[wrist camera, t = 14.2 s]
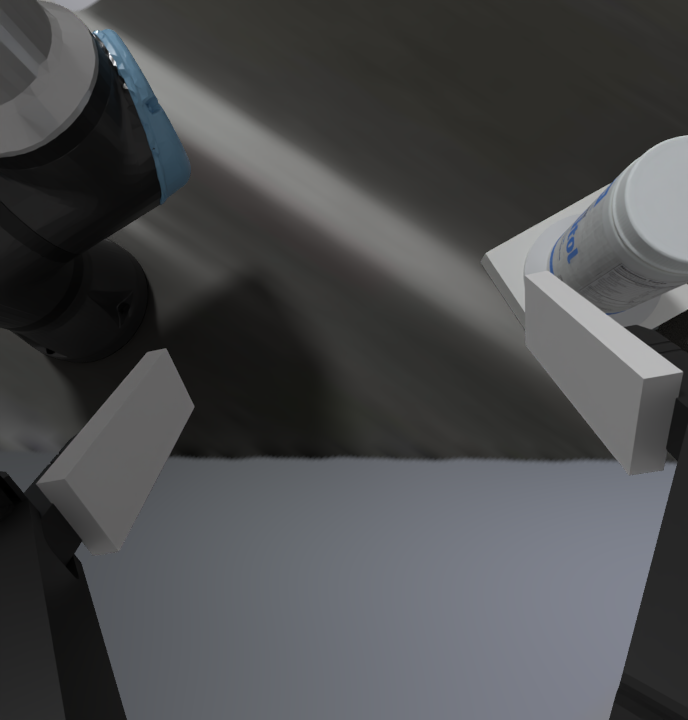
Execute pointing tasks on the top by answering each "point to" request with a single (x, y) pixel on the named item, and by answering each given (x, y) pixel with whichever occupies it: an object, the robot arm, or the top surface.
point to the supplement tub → (631, 234)
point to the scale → (531, 257)
